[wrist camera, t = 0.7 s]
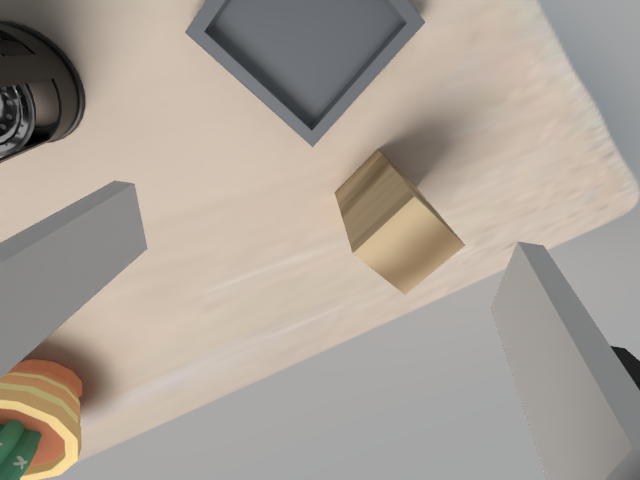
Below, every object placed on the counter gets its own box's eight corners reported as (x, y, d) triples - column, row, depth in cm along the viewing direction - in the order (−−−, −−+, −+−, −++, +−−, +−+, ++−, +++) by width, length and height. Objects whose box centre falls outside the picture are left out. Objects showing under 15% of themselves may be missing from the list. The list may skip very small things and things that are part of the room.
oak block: (334, 192, 37) (352, 253, 27) (377, 149, 36) (414, 196, 25) (374, 226, 40) (405, 294, 29) (416, 187, 38) (465, 245, 27)
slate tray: (192, 32, 30) (185, 32, 27) (298, -124, 26) (299, -139, 23) (311, 140, 35) (312, 147, 32) (415, 23, 30) (425, 22, 28)
